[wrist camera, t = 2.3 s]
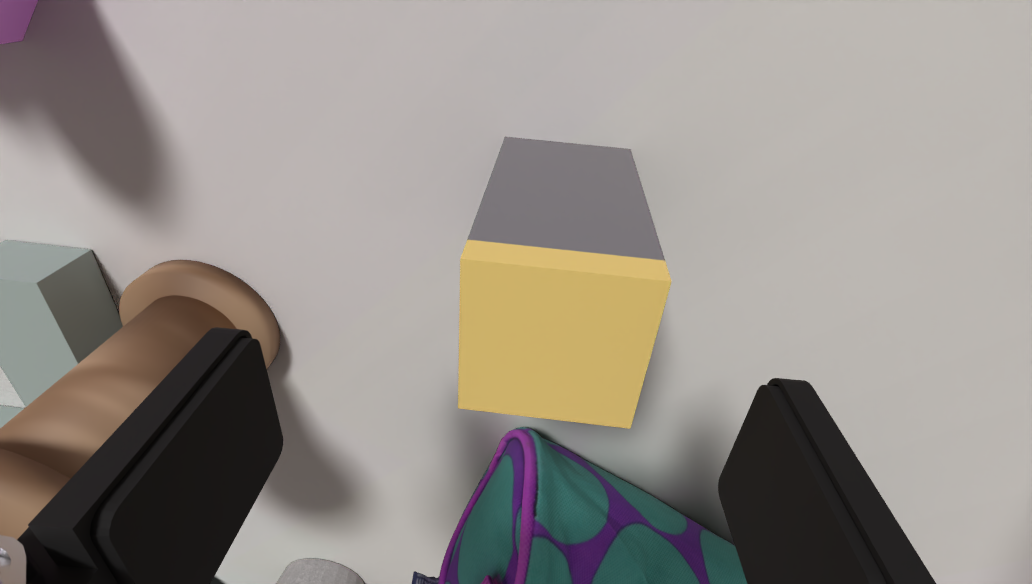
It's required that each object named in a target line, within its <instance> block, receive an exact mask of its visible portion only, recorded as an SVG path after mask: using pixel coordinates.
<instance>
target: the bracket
mask: <svg viewBox="0 0 1032 584" xmlns="http://www.w3.org/2000/svg"><path fill="white" fill-rule="evenodd" d="M37 2H38V0H0V44H5V43H12V42H18V41H22V40H23V38H24V35H25V33H26V30H27V28H28V25H29V23H30V20H31V17H32V15H33V12H34V10H35V7H36V5H37Z"/></svg>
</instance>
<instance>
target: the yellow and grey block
mask: <svg viewBox="0 0 1032 584" xmlns="http://www.w3.org/2000/svg"><path fill="white" fill-rule="evenodd" d="M670 285H671V278H670V275H669V272H668V269H667V265H666V262H665V259H664V256H663V252H662V249H661V246H660V243H659V239H658V236H657V233H656V230H655V227H654V223H653V220H652V217H651V214H650V210H649V207H648V204H647V201H646V198H645V194H644V191H643V188H642V185H641V181H640V178H639V175H638V172H637V169H636V165H635V162H634V159H633V156H632V152H631V149H623V148H613V147H603V146H593V145H583V144H573V143H563V142H553V141H543V140H532V139H522V138H512V137H505V139H504V141H503V144H502V147H501V149H500V152H499V155H498V158H497V160H496V163H495V166H494V169H493V171H492V174H491V177H490V179H489V182H488V185H487V188H486V190H485V193H484V196H483V199H482V201H481V204H480V207H479V209H478V212H477V215H476V218H475V220H474V223H473V226H472V229H471V231H470V234H469V237H468V239H467V242H466V245H465V248H464V250H463V253H462V256H461V259H460V319H459V383H458V408H460V409H468V410H477V411H485V412H493V413H502V414H510V415H519V416H527V417H536V418H544V419H553V420H561V421H570V422H578V423H587V424H595V425H604V426H612V427H621V428H629V429H630V428H631V425H632V421H633V418H634V414H635V410H636V407H637V403H638V400H639V396H640V392H641V389H642V385H643V382H644V378H645V375H646V371H647V367H648V364H649V360H650V357H651V353H652V350H653V346H654V342H655V339H656V335H657V332H658V328H659V324H660V321H661V317H662V314H663V310H664V307H665V303H666V299H667V296H668V292H669V289H670Z"/></svg>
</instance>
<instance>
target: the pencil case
mask: <svg viewBox="0 0 1032 584" xmlns="http://www.w3.org/2000/svg"><path fill="white" fill-rule="evenodd" d="M412 584H747V581H746V578H745V575H744V572H743V569H742V566H741V563H740V559H739V556H738V553H737V550H736V547H735V545H733V544H731V543H730V542H728V541H726V540H724V539H722V538H721V537H719V536H717V535H715V534H713V533H712V532H710V531H709V530H707V529H706V528H704V527H702V526H701V525H699V524H698V523H696V522H694V521H693V520H691V519H689V518H688V517H686V516H684V515H682V514H681V513H679V512H677V511H676V510H674V509H672V508H671V507H669V506H668V505H666V504H664V503H663V502H661V501H660V500H658V499H656V498H655V497H653V496H651V495H649V494H648V493H646V492H644V491H642V490H640V489H639V488H637V487H635V486H633V485H631V484H629V483H627V482H625V481H623V480H621V479H620V478H618V477H616V476H614V475H612V474H610V473H608V472H606V471H604V470H602V469H601V468H599V467H597V466H595V465H593V464H591V463H590V462H588V461H586V460H584V459H582V458H581V457H579V456H577V455H575V454H574V453H572V452H570V451H568V450H567V449H565V448H563V447H561V446H559V445H557V444H555V443H553V442H551V441H548V440H545V439H543V438H542V437H541V436H540V435H539V434H538V433H536V432H535V431H534V430H532V429H531V428H527V427H520V428H516V429H514V430H511V431H509V432H508V433H507V434H506V435H505V436H504V437H503V438H502V439H501V442H500V444H499V446H498V448H497V451H496V453H495V455H494V457H493V459H492V461H491V463H490V465H489V467H488V469H487V470H486V472H485V474H484V476H483V477H482V479H481V481H480V482H479V484H478V486H477V488H476V490H475V491H474V493H473V495H472V497H471V499H470V501H469V503H468V504H467V506H466V508H465V510H464V512H463V514H462V517H461V519H460V521H459V523H458V525H457V528H456V530H455V532H454V534H453V536H452V538H451V541H450V543H449V546H448V548H447V551H446V554H445V557H444V560H443V563H442V567H441V571H440V576H439V577H438V578H435V577H427V576H425V575H423V574H420V573H417V572H414V574H413V580H412Z"/></svg>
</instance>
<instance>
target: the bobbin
mask: <svg viewBox="0 0 1032 584" xmlns="http://www.w3.org/2000/svg"><path fill="white" fill-rule="evenodd" d="M119 313H120V318H121V322H122V325H123V327H122V328H121V329H120V330H118V331H117V332H116V333H115V334H114V335H112V336H111V337H110V338H109V339H108V340H106V341H105V342H104V343H103V344H102V345H100V346H99V347H98V348H97V349H96V350H94V351H93V352H92V353H91V354H89V355H88V356H87V357H86V358H85V359H83V360H82V361H81V362H80V363H79V364H77V365H76V366H75V367H74V368H73V369H71V370H70V371H69V372H68V373H67V374H65V375H64V376H63V377H62V378H61V379H59V380H58V381H57V382H56V383H54V384H53V385H52V386H51V387H50V388H48V389H47V390H46V391H45V392H44V393H42V394H41V395H40V396H39V397H38V398H36V399H35V400H34V401H33V402H32V403H30V404H29V405H28V406H27V407H26V408H24V409H23V410H22V411H21V412H19V413H18V414H17V415H16V416H15V417H13V418H12V419H11V420H10V421H9V422H7V423H6V424H5V425H4V426H3V427H1V428H0V535H3V536H8V537H13V538H15V539H16V540H17V539H18V538H19V537H20V536H21V535H22V534H23V533H24V532H25V531H26V529H27V528H28V527H29V526H28V524H29V523H30V522H31V521H32V520H33V519H34V518H35V516H36V515H37V514H38V513H39V512H40V511H41V510H42V509H43V508H44V507H45V506H46V505H47V504H48V503H49V501H50V500H51V499H52V498H53V497H54V496H55V495H56V494H57V493H58V492H59V491H60V490H61V489H62V487H63V486H64V485H65V484H66V483H67V482H68V481H69V480H70V479H71V478H72V477H73V476H74V475H75V474H76V472H77V471H78V470H79V469H80V468H81V467H82V466H83V465H84V464H85V463H86V462H87V461H88V460H89V458H90V457H91V456H92V455H93V454H94V453H95V452H96V451H97V450H98V449H99V448H100V447H101V446H102V445H103V443H104V442H105V441H106V440H107V439H108V438H109V437H110V436H111V435H112V434H113V433H114V432H115V431H116V429H117V428H118V427H119V426H120V425H121V424H122V423H123V422H124V421H125V420H126V419H127V418H128V417H129V416H130V414H131V413H132V412H133V411H134V410H135V409H136V408H137V407H138V406H139V405H140V404H141V403H142V402H143V400H144V399H145V398H146V397H147V396H148V395H149V394H150V393H151V392H152V391H153V390H154V389H155V388H156V387H157V385H158V384H159V383H160V382H161V381H162V380H163V379H164V378H165V377H166V376H167V375H168V374H169V373H170V371H171V370H172V369H173V368H174V367H175V366H176V365H177V364H178V363H179V362H180V361H181V360H182V359H183V358H184V356H185V355H186V354H187V353H188V352H189V351H190V350H191V349H192V348H193V347H194V346H195V345H196V344H197V342H198V341H199V340H200V339H201V338H202V337H203V336H204V335H205V334H206V333H207V332H208V331H209V330H210V329H212V328H215V327H218V328H229V329H240V330H247V331H248V332H249V333H250V334H251V336H252V338H253V339H257V340H258V341H259V342H260V345H261V349H262V353H263V357H264V361H265V365H266V369H267V368H268V367H269V366H270V364H271V363H272V362H273V360H274V359H275V357H276V356H277V353H278V351H279V347H280V332H279V328H278V325H277V322H276V319H275V317H274V315H273V313H272V312H271V310H270V308H269V307H268V305H267V304H266V303H265V302H264V300H263V299H262V298H261V297H260V296H259V295H258V294H257V293H256V292H255V291H254V290H253V289H252V288H251V287H250V286H248V285H247V284H246V283H244V282H243V281H242V280H240V279H239V278H237V277H235V276H234V275H232V274H230V273H228V272H226V271H224V270H222V269H220V268H218V267H215V266H212V265H209V264H206V263H202V262H197V261H191V260H172V261H167V262H163V263H160V264H158V265H155V266H154V267H152V268H151V269H149V270H148V271H146V272H145V273H144V274H142V275H141V276H140V277H138V278H137V279H136V280H134V281H133V282H132V283H131V284H130V285H129V286H127V288H126V289H125V291H124V292H123V294H122V296H121V299H120V305H119Z"/></svg>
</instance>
